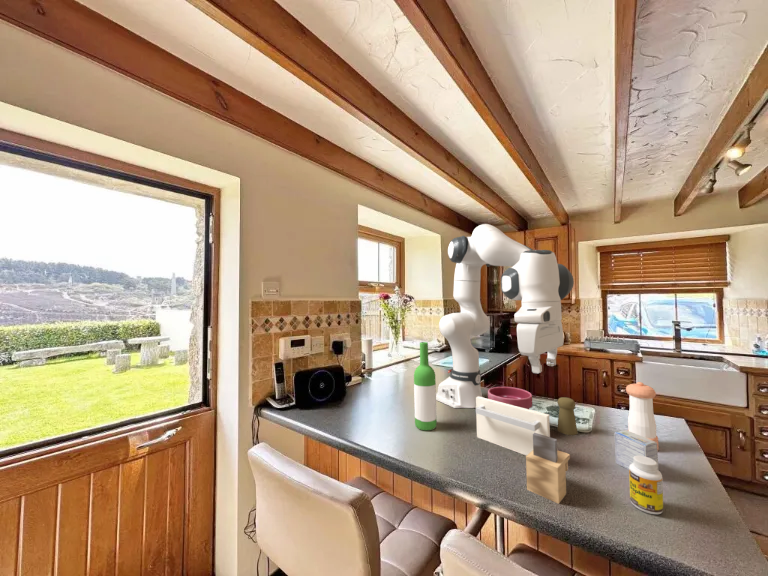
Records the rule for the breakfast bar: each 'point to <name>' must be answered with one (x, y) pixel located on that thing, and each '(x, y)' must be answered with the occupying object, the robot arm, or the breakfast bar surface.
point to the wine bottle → (425, 392)
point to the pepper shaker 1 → (566, 416)
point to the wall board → (509, 425)
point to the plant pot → (511, 396)
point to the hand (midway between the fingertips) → (544, 369)
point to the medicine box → (633, 448)
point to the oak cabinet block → (547, 468)
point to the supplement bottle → (646, 485)
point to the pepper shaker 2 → (642, 411)
